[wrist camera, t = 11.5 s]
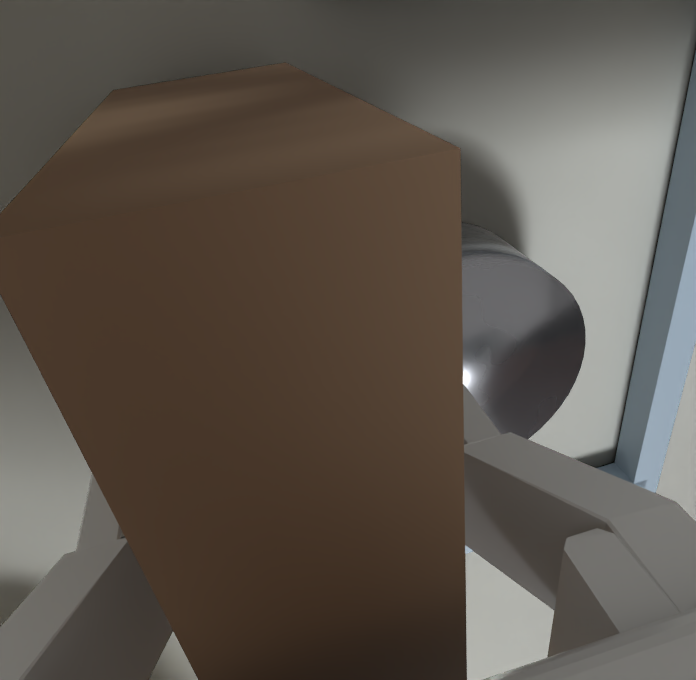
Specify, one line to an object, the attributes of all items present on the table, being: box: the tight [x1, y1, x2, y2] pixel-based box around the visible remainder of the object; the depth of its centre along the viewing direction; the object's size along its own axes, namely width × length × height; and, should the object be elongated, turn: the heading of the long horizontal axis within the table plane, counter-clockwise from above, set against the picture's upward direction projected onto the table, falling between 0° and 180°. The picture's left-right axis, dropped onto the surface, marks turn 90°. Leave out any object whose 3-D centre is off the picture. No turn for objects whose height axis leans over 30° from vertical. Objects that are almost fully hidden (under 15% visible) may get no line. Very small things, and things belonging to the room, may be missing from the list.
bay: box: [465, 52, 696, 554], centre depth 11 cm, size 7×14×1 cm, turn 7°
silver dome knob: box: [461, 223, 585, 439], centre depth 11 cm, size 4×4×2 cm
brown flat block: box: [0, 63, 467, 680], centre depth 8 cm, size 2×10×6 cm, turn 7°
